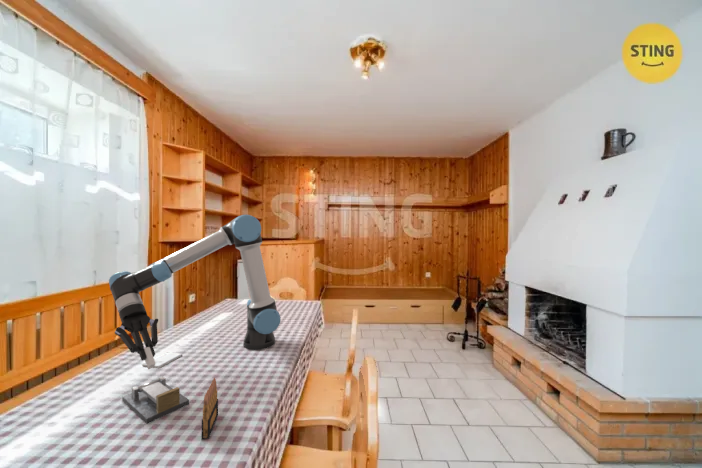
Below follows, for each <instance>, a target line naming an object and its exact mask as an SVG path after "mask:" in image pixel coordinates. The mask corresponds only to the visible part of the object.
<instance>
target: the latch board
mask: <svg viewBox="0 0 702 468" xmlns="http://www.w3.org/2000/svg"><path fill="white" fill-rule="evenodd" d="M158 379H159V380H160V383H161V384H162V385H164V386H165V387H167V388H168V389H169V391H166V392H164V393H161V394H159V395H157V396H156V403H155V402H153V401H152V400H151V399H150V398H149V397H147V396H146V395H145V394H144V393H143V392H140V393H139V388H138V387H139V386H137V385H135V386H133V387H131V393H128V394H126V395H122V397H121V398H122V403H124V404H125V406H127V407H128V409H131V411H133V413H135V414H136V416H138V417H139V418H140V419H141V420H142V421H143V422H144V423H145V424H146V425H148V424H149V423H152V422H154V421H157V420H159V419H160V418H163V417H165V416H168V415H170V414H171V413H174V412H176V411H179V410H180V409H182V408H184V407H187V406H188V405H190V399H189V398H188V397H186V396H184V395H183V394H181V393H180V387H178V386H176V387H174V388H173V387H171V386H170V385H168V384H167V380H166V379H167V378H165V377H164V376H160V377H158Z"/></svg>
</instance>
